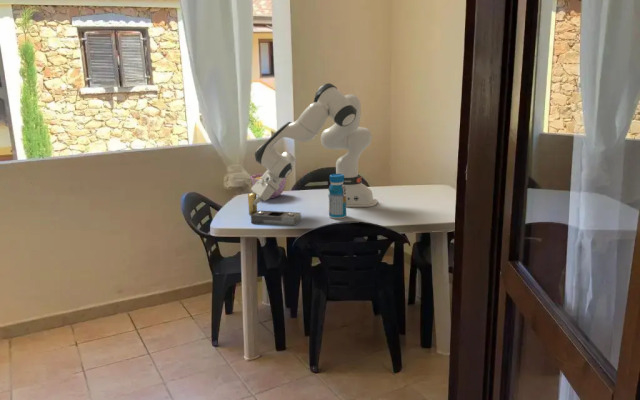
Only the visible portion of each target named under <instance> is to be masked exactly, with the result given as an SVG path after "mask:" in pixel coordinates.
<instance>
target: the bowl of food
mask: <svg viewBox="0 0 640 400" xmlns="http://www.w3.org/2000/svg"><path fill="white" fill-rule="evenodd" d="M264 173H265V172H263V173H257V174H253V175H251V176H250V180H251V183H252V186H253V185H254V184H255V183H256V182H257V181H258V180H259V179H262V178H261V177H262V175H263V174H264ZM287 177H288V176H287ZM287 177H286V178H283V179H282V181H281V182H280V183H279V189H278V190H277V191H276V190H275V192H274V193H273V194H272V195H271V196H270V197H269V199H274V198H277V197H278V196H280V195H281V194H283V192H284V191H285V187H286V183H287Z"/></svg>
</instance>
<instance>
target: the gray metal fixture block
mask: <svg viewBox="0 0 640 400" xmlns="http://www.w3.org/2000/svg"><path fill="white" fill-rule="evenodd" d="M301 214H302V213H301V212H293V211H275V210H257V212H256V213H254V214H253V215H250V223H251V224H261V223H262V224H263V225H264V224H265V225H278V226H280V225H283V226H295V225H297V224H298V223H299V222H300V221H301V220H302V217H301Z"/></svg>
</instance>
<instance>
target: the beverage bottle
mask: <svg viewBox="0 0 640 400" xmlns="http://www.w3.org/2000/svg"><path fill="white" fill-rule="evenodd" d="M343 182H344V175H343V174H336V173H332V174H330V175H329V183H330V184H329V187H328V194H327V195H328V215H329V218H330V219H335V220H337V219H345V218H346V217H347V207H346V192H345V191H346V187H345V185H344V184H343Z"/></svg>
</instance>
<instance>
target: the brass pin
mask: <svg viewBox="0 0 640 400" xmlns="http://www.w3.org/2000/svg"><path fill="white" fill-rule="evenodd" d="M256 199H257V195H256V193H252V192H251V193H248V194H247V200H248V201H247V203H248V215H249V216H251V215H253V214H254V213H256V212H257V211H258V203H257V204H256V205H253V204H252V202H253V201H255V200H256Z"/></svg>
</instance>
